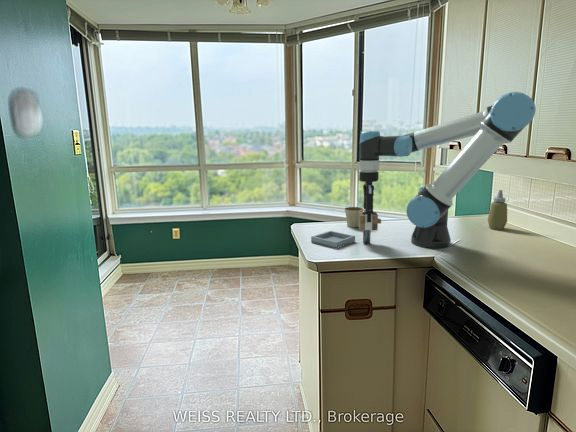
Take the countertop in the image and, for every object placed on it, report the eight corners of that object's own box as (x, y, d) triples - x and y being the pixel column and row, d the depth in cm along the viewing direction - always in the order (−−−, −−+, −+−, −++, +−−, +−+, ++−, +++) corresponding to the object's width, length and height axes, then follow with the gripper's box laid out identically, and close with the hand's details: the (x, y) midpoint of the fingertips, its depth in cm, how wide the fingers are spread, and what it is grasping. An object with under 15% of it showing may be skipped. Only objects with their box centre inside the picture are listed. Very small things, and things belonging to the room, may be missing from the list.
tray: (355, 241, 162) (355, 235, 162) (336, 248, 153) (336, 242, 152) (330, 236, 171) (330, 230, 170) (311, 242, 162) (311, 236, 161)
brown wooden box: (379, 226, 161) (380, 211, 159) (381, 230, 154) (382, 215, 152) (358, 225, 162) (358, 211, 160) (359, 230, 155) (360, 215, 153)
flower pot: (344, 228, 184) (345, 210, 182) (342, 223, 193) (343, 206, 191) (364, 228, 183) (365, 210, 181) (361, 223, 193) (362, 206, 191)
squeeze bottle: (483, 228, 181) (487, 190, 177) (490, 225, 186) (494, 188, 182) (502, 231, 175) (506, 192, 171) (509, 228, 180) (513, 190, 176)
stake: (372, 243, 159) (373, 215, 157) (367, 245, 157) (368, 216, 154) (365, 241, 162) (366, 213, 159) (360, 243, 159) (361, 215, 157)
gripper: (357, 168, 163) (356, 221, 168) (361, 173, 144) (359, 233, 148) (375, 168, 162) (374, 221, 167) (381, 173, 143) (379, 233, 148)
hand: (367, 227), depth 158 cm, fingers closed on brown wooden box, 7 cm apart
